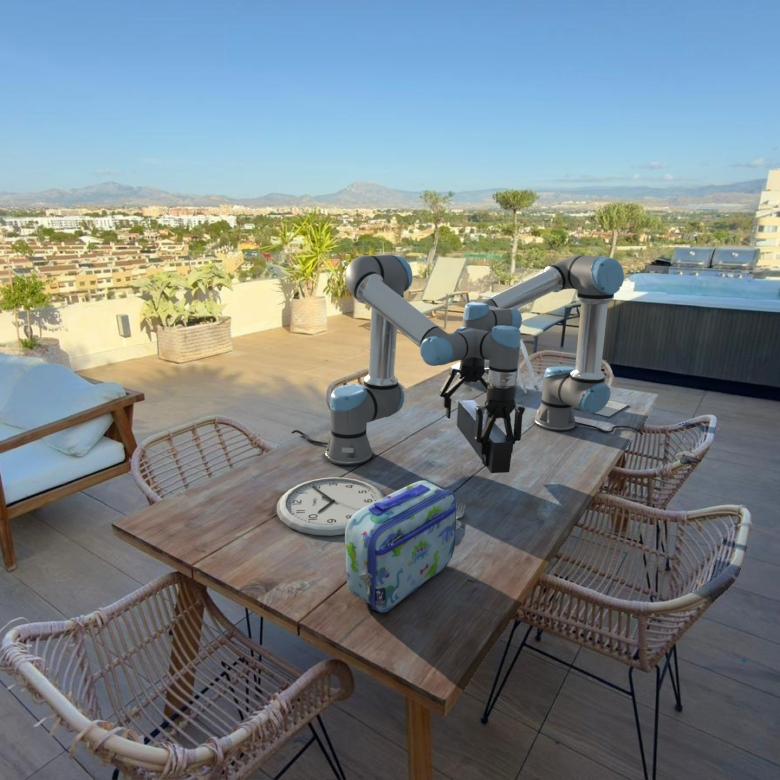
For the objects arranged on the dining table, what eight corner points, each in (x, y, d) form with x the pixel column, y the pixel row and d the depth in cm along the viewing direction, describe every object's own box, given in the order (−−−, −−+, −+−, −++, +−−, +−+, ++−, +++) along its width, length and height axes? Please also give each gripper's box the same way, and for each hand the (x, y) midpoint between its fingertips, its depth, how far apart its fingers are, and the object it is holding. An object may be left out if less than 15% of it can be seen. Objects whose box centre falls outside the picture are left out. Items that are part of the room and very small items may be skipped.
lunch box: (374, 626, 100) (375, 530, 93) (338, 598, 107) (337, 508, 101) (459, 568, 117) (465, 484, 111) (424, 547, 124) (427, 467, 118)
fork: (441, 539, 128) (441, 532, 127) (456, 508, 142) (456, 501, 141) (451, 541, 127) (452, 534, 126) (465, 510, 141) (466, 503, 141)
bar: (456, 425, 175) (458, 400, 173) (471, 425, 176) (473, 399, 173) (491, 473, 142) (493, 442, 139) (509, 472, 143) (512, 441, 140)
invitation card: (608, 416, 214) (573, 407, 224) (608, 416, 214) (573, 408, 224) (628, 404, 229) (594, 396, 238) (628, 405, 229) (594, 397, 238)
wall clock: (392, 527, 129) (268, 531, 127) (391, 533, 130) (269, 537, 127) (383, 473, 158) (282, 475, 155) (383, 478, 158) (282, 480, 156)
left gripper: (472, 389, 134) (467, 471, 141) (540, 387, 137) (531, 468, 144) (464, 381, 142) (459, 459, 149) (529, 379, 144) (521, 456, 151)
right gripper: (437, 356, 158) (433, 421, 165) (515, 355, 162) (509, 419, 168) (431, 350, 166) (428, 413, 172) (507, 350, 169) (501, 411, 175)
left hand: (495, 463), depth 146 cm, fingers closed on bar, 5 cm apart
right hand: (468, 416), depth 170 cm, fingers open, 13 cm apart
